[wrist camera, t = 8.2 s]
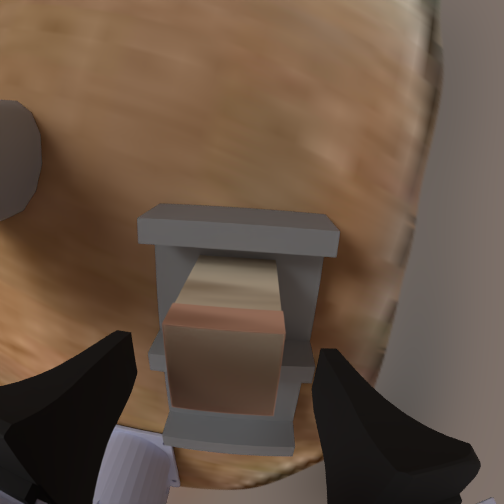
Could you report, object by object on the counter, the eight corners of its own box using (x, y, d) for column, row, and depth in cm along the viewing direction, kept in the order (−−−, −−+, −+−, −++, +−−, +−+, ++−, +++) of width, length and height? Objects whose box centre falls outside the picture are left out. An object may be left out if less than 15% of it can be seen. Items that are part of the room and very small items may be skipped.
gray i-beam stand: (289, 421, 22) (292, 456, 19) (173, 411, 22) (164, 445, 19) (325, 214, 17) (340, 231, 14) (160, 203, 17) (137, 218, 14)
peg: (270, 326, 18) (273, 416, 12) (199, 320, 18) (171, 407, 12) (276, 259, 17) (285, 333, 10) (198, 254, 17) (161, 323, 10)
